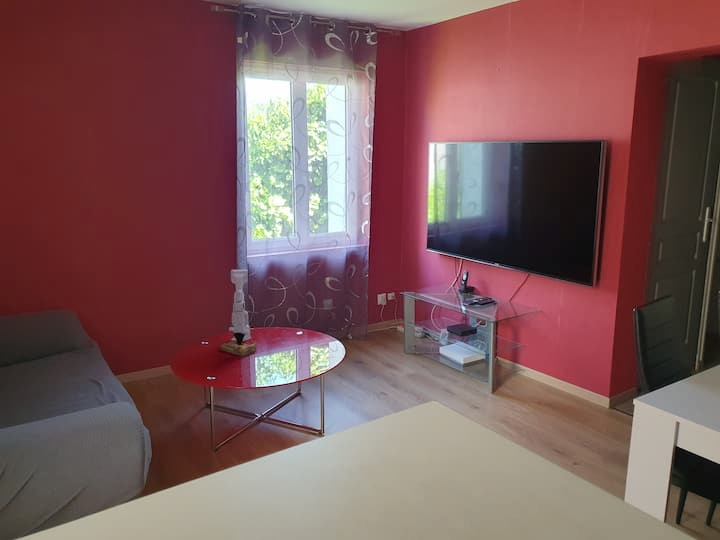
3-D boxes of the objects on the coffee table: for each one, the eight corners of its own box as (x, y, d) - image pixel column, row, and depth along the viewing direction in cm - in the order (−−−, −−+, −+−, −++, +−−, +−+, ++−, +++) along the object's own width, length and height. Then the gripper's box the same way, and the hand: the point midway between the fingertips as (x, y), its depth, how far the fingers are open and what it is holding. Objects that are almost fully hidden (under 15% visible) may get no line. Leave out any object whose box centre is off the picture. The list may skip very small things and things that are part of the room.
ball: (247, 350, 325) (243, 352, 327) (245, 344, 326) (241, 346, 328) (243, 351, 322) (239, 352, 324) (241, 345, 323) (237, 347, 325)
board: (233, 344, 336) (233, 337, 335) (256, 350, 327) (256, 343, 326) (220, 350, 327) (219, 342, 326) (243, 356, 318) (242, 348, 317)
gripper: (225, 321, 323) (225, 344, 326) (243, 326, 316) (244, 349, 318) (233, 318, 329) (234, 341, 332) (252, 323, 322) (252, 345, 324)
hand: (239, 344), depth 325 cm, fingers closed
